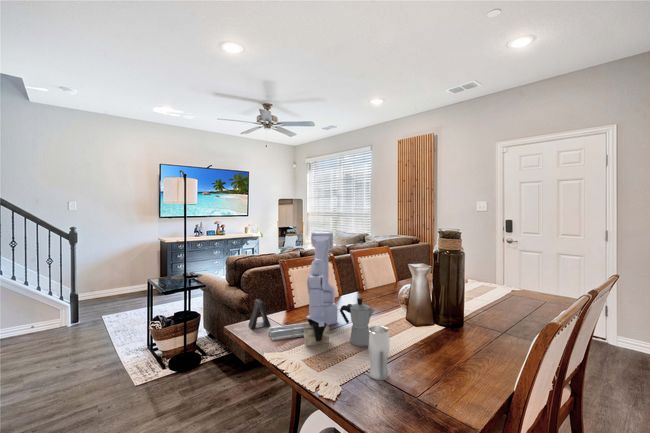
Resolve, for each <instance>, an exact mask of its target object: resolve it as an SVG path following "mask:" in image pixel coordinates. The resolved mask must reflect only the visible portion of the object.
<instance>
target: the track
mask: <svg viewBox="0 0 650 433" xmlns="http://www.w3.org/2000/svg"><path fill="white" fill-rule="evenodd" d="M305 326H310V325H309V322H308V321H306V322H300V323H293V324H286V325H285V324H284V325H279V326H278V325H277V326H268V334H269V337H270V339H271V342H274V341H275V342H276V341H281V340H288V339H289V340H290V339H295V338H301V337H304V327H305Z"/></svg>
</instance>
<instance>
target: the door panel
mask: <svg viewBox="0 0 650 433" xmlns="http://www.w3.org/2000/svg"><path fill="white" fill-rule="evenodd" d="M327 343H330V325H328V324H327V323H326V327H325V329H324V332H323V336H322V340H321V341H316V338H315V332H314V329H313V326H305V327H304V336H303V344H304V346H305V347H308V346H315V345H321V344H327Z"/></svg>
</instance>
